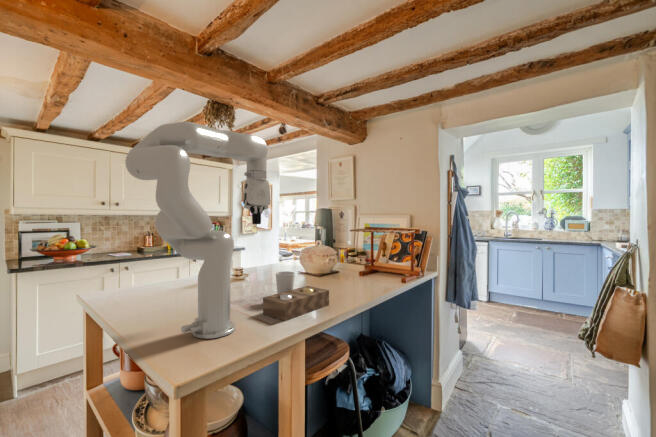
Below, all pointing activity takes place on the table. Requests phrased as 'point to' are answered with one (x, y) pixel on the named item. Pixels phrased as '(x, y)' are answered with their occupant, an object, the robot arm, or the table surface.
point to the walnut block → (295, 303)
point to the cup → (284, 281)
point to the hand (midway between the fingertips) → (256, 223)
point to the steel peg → (286, 296)
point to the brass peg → (308, 290)
